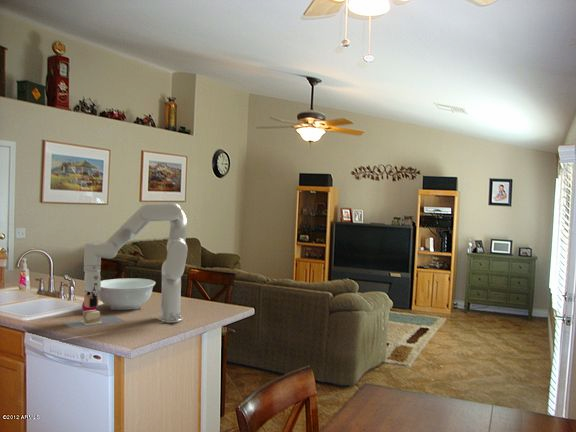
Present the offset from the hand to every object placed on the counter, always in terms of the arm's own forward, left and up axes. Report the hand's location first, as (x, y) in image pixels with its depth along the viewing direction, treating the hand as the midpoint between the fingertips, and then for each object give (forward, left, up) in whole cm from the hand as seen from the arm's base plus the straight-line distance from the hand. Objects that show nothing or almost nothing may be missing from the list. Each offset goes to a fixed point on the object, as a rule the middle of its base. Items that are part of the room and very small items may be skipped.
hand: (91, 305), depth 234 cm
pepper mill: (+19, -6, -10) cm, 22 cm away
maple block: (0, 0, -8) cm, 8 cm away
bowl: (+23, -27, -10) cm, 37 cm away
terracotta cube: (0, 0, 0) cm, 0 cm away
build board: (0, -2, -9) cm, 9 cm away
